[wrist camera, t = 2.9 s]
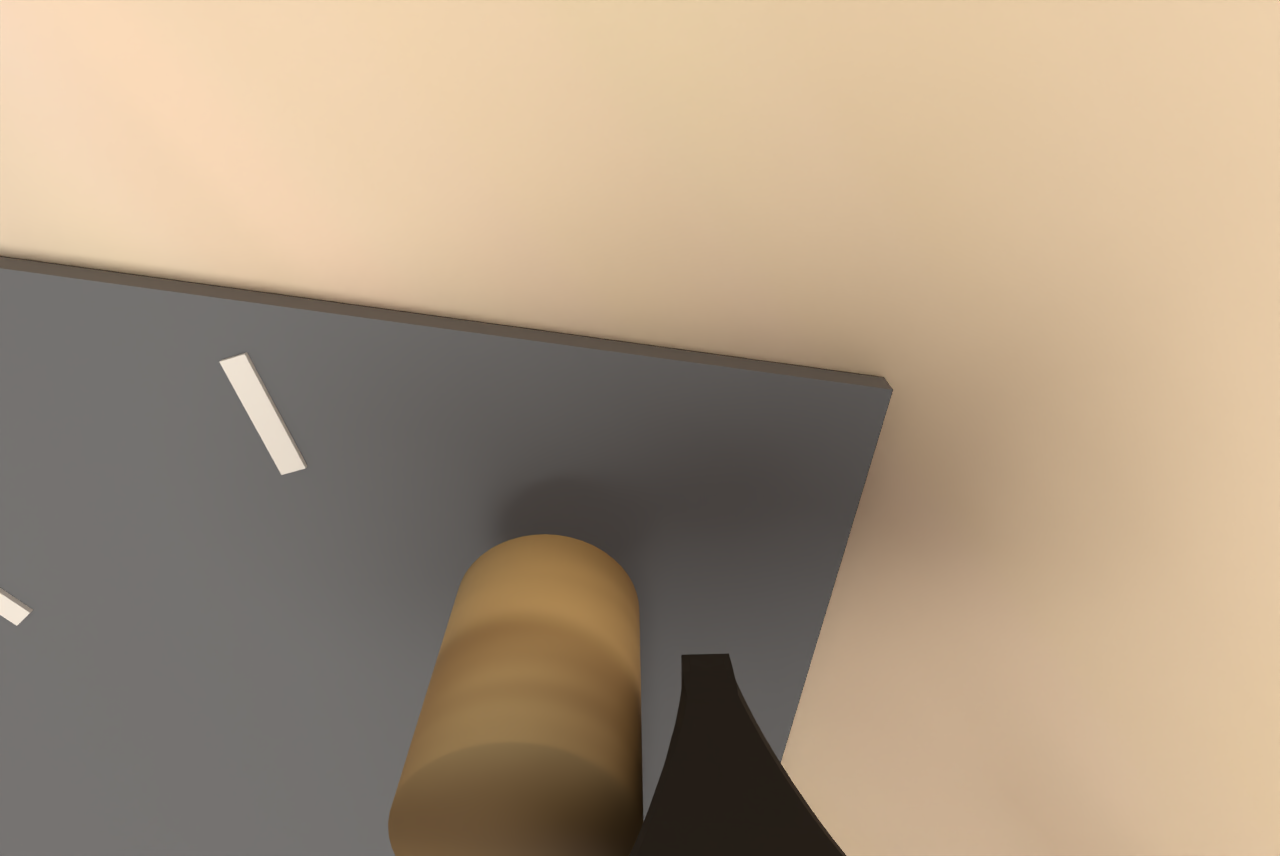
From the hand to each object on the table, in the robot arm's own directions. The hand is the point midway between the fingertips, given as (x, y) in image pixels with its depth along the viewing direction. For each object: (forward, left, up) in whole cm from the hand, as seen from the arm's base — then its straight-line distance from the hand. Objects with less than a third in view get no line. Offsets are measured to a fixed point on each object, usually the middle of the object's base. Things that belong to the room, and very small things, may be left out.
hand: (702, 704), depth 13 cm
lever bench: (-7, +6, -5) cm, 10 cm away
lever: (-7, +2, -2) cm, 8 cm away
